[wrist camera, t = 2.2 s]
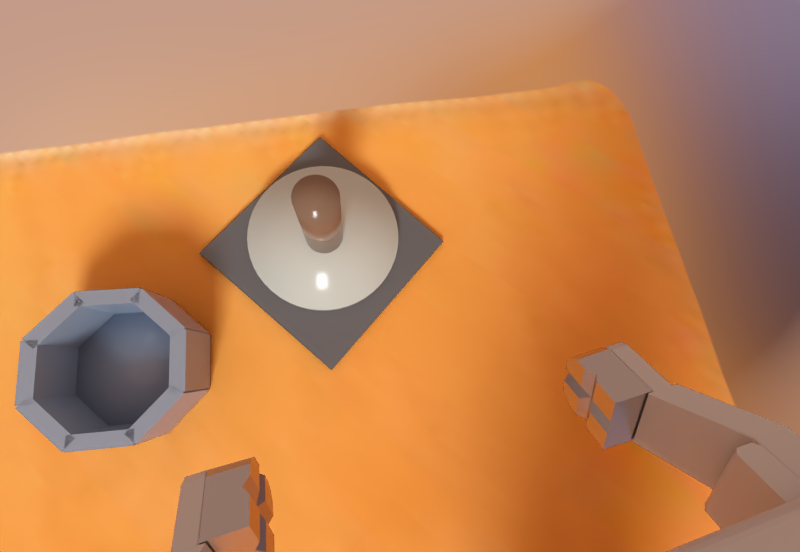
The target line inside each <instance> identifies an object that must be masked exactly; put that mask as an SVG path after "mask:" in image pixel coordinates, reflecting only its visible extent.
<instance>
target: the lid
mask: <svg viewBox="0 0 800 552" xmlns="http://www.w3.org/2000/svg"><path fill="white" fill-rule="evenodd" d="M247 244H248V251H249V256H250V259H251V262H252V264H253V267H254V269H255V271H256V272H257V274H258V276H259V277H260V279H261V280H262V281H263V283H264V284H265V285H266V286H267V287H268V288H269V289H270V290H271V291H272V292H273V293H275V294H276V295H277V296H279V297H280V298H281V299H283V300H285V301H286V302H288V303H290V304H292V305H295V306H297V307H300V308H304V309H308V310H315V311H332V310H339V309H343V308H346V307H349V306H352V305H354V304H357V303H359V302H360V301H362V300H364V299H366V298H367V297H368V296H370V295H371V294H372V293H373V292H374V291H375V290H376V289H377V288H378V287H380V285H381V284H382V283H383V281H384V280H385V279H386V277H387V276H388V274H389V272H390V270H391V268H392V265H393V263H394V260H395V257H396V253H397V249H398V227H397V221H396V218H395V215H394V212H393V210H392V208H391V205H390V204H389V202H388V201H387V199H386V197H385V196H384V195H383V194H382V192H381V191H380V190H379V189H378V188H377V187H376V186H375V185H374V184H372V183H371V182H370V181H368V180H367V179H366V178H364V177H362V176H360V175H359V174H356V173H354V172H352V171H349V170H346V169H342V168H337V167H331V166H316V167H309V168H304V169H300V170H297V171H294V172H292V173H290V174H288V175H286V176H284V177H282V178H281V179H279V180H278V181H276V182H275V183H274V184H273V185H271V186H270V187H269V188H268V189H267V190H266V191H265V192H264V194H263V195H262V196H261V198H260V199H259V200H258V202H257V204H256V205H255V207H254V209H253V211H252V214H251V217H250V220H249V225H248V232H247Z"/></svg>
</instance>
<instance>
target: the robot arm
mask: <svg viewBox="0 0 800 552" xmlns="http://www.w3.org/2000/svg"><path fill="white" fill-rule="evenodd" d="M566 369H567V370H568V371H569V375H568V376H567V377H566V378H565V380H564V387H563V389H564V393H565V397H566V400H567V402H568V404H569V405H570V407H571V408H572V410H573V411H574V412H575V414H577V415H579V416H581V417H583V418H585V419H586V428H587V429H588V431H589V432H590V433H591V435H592V436H593V437H594V438H595V440H596V441H597V442H598V444H599V445H600V446H601V447H602V449H606V448H609V447H612V446H615V445H618V444H622V443H625V442H628V441H631V440H633V442H634V443H636V444H638V445H639V446H641V447H643V448H644V449H646V450H648V451H649V452H651V453H653V454H654V455H656V456H658V457H659V458H661V459H663V460H664V461H666V462H668V463H670V464H671V465H673V466H675V467H676V468H678V469H680V470H681V471H683V472H685V473H686V474H688V475H690V476H691V477H693V478H695V479H696V480H698V481H700V482H702V483H703V484H705V485H707V486H708V487H710V488H712V489H713V490H712V492H711V494H710V496H709V497H708V499H707V501H706V503H705V511H706V512H707V513H708V514H709V516H710V517H711V518H712V519H713V520H714V521H715V523H716V524H717V525H718V526H719V527H720V528H721V529H720V530H718V531H715V532H713V533H710V534H708V535H705V536H703V537H700V538H698V539H696V540H693V541H691V542H688V543H686V544H683V545H681V546H678V547H676V548H674V549H671V550H669V551H666V552H800V436H799V435H798V434H797V433H795V432H794V431H793V430H792V429H790V428H789V427H787V426H784V425H782V424H779V423H777V422H774V421H771V420H769V419H766V418H764V417H761V416H759V415H756V414H753V413H751V412H748V411H745V410H743V409H740V408H738V407H735V406H733V405H730V404H727V403H725V402H722V401H720V400H717V399H715V398H712V397H709V396H707V395H704V394H702V393H699V392H696V391H694V390H691V389H689V388H686V387H684V386H681V385H678V384H675V385H671V384H670V383H669V382H668V381H667V380H665V379H664V378H663V377H662V376H661V375H660V374H659V373H658V372H657V371H656V370H655V369H654V368H652V367H651V366H650V365H649V364H648V363H647V362H646V361H645V360H644V359H643V358H642V357H641V356H639V355H638V354H637V353H636V352H635V351H634V350H633V349H632V348H631V347H630V346H629V345H627V344H625V343H623V342H620V343H616V344H613V345H610V346H607V347H604V348H599V349H596V350H593V351H590V352H587V353H584V354H581V355H578V356H575V357H572V358H570V359H569V360H568V361H567V366H566ZM272 517H273V501H272V495H271V490H270V486H269V483H268V481H267V479H266V477H265V475H262V474H259V464H258V462H257V460H256V459H255V457H252V458H248V459H245V460H241V461H238V462H234V463H231V464H228V465H224V466H221V467H217V468H214V469H210V470H206V471H203V472H200V473H197V474H193V475H190V476H187V477H185V478H184V481H183V483H182V485H181V490H180V497H179V503H178V509H177V516H176V522H175V529H174V535H173V542H172V548H171V552H275V551H274V534H273V532H272V530H271V529H270V527H269V525H268V524H269V522H270V521H271V519H272Z"/></svg>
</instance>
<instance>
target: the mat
mask: <svg viewBox="0 0 800 552" xmlns="http://www.w3.org/2000/svg"><path fill="white" fill-rule="evenodd" d="M316 166H331V167H337V168H342V169H346V170H349V171H352V172H354V173H356V174H359V175H360V176H362V177H364V178H366V179H367V180H368V181H370V182H371V183H372V184H374V185H375V186H376V187H377V188H378V189H379V190H380V191H381V192H382V194H383V195H384V196H385V197H386V199H387V201H388V202H389V204H390V205H391V208H392V210H393V212H394V215H395V218H396V221H397V227H398V249H397V253H396V257H395V260H394V263H393V265H392V268H391V270H390V272H389V274H388V276H387V277H386V279H385V280H384V281H383V283H382V284H381V285H380V287H378V288H377V289H376V290H375V291H374V292H373V293H372V294H371V295H370V296H368V297H367V298H366V299H364V300H362V301H360V302H359V303H357V304H354V305H352V306H349V307H346V308H343V309H339V310H332V311H315V310H308V309H304V308H300V307H297V306H295V305H292V304H290V303H288V302H286V301H285V300H283V299H281V298H280V297H279V296H277V295H276V294H275V293H273V292H272V291H271V290H270V289H269V288H268V287H267V286H266V285H265V284H264V283H263V281H262V280H261V279H260V277H259V276H258V274H257V272H256V271H255V269H254V267H253V264H252V262H251V259H250V256H249V251H248V244H247V232H248V225H249V220H250V217H251V214H252V211H253V209H254V207H255V205H256V204H257V202H258V200H259V199H260V198H261V196H262V195H263V194H264V192H265V191H266V190H267V189H268V188H269V187H270V186H271V185H273V184H274V183H275V182H276V181H278V180H279V179H281V178H282V177H284V176H286V175H288V174H290V173H292V172H294V171H297V170H300V169H304V168H309V167H316ZM271 185H270V186H269V187H268V188H267V189H266V190H265V191H264V192H263V193H262V194H261V195H260V196H259V197H257V198H256V199H255V200H254V201H253V202H252V203H251V204H250V205H249V206H248V207H247V208H246V209H245V210H244V211H243V212H242V213H241V214H240V215H239V216H238V217H237V218H236V219H235V220H234V221H233V222H231V223H230V224H229V225H228V226H227V227H226V228H225V229H224V230H223V231H222V232H221V233H220V234H219V235H218V236H217V237H216V238H215V239H214V240H213V241H212V242H211V243H210V244H209V245H208V246H207V247H206V248H204V249H203V250H202V251H201V252H200V254H201V255H202V256H203V257H204V258H205V259H206V260H208V261H209V262H210V263H211V264H212V265H213V266H214V267H216V268H217V269H218V270H219V271H220V272H221V273H222V274H223V275H225V276H226V277H227V278H228V279H229V280H230V281H231V282H233V283H234V284H235V285H236V286H237V287H238V288H239V289H240V290H242V291H243V292H244V293H245V294H246V295H247V296H248V297H250V298H251V299H252V300H253V301H254V302H255V303H256V304H257V305H259V306H260V307H261V308H262V309H263V310H264V311H265V312H267V313H268V314H269V315H270V316H271V317H272V318H273V319H274V320H276V321H277V322H278V323H279V324H280V325H281V326H282V327H284V328H285V329H286V330H287V331H288V332H289V333H290V334H291V335H293V336H294V337H295V338H296V339H297V340H298V341H299V342H301V343H302V344H303V345H304V346H305V347H306V348H307V349H308V350H310V351H311V352H312V353H313V354H314V355H315V356H316V357H318V358H319V359H320V360H321V361H322V362H323V363H324V364H325V365H327V366H328V367H329V368H330V369H331V370H332V369H333V368H334V367H335V365H336V364H337V363H338V362H339V361H340V360H341V358H342V357H343V356H344V355H345V354H346V353H347V352H348V350H349V349H350V348H351V347H352V346H353V345H354V344H355V342H356V341H357V340H358V339H359V338H360V337H361V335H362V334H363V333H364V332H365V331H366V330H367V329H368V327H369V326H370V325H371V324H372V323H373V322H374V320H375V319H376V318H377V317H378V316H379V315H380V314H381V312H382V311H383V310H384V309H385V308H386V307H387V306H388V304H389V303H390V302H391V301H392V300H393V299H394V297H395V296H396V295H397V294H398V293H399V292H400V291H401V289H402V288H403V287H404V286H405V285H406V284H407V283H408V281H409V280H410V279H411V278H412V277H413V276H414V274H415V273H416V272H417V271H418V270H419V269H420V268H421V266H422V265H423V264H424V263H425V262H426V261H427V260H428V258H429V257H430V256H431V255H432V254H433V253H434V251H435V250H436V249H437V248H438V247H439V246H440V245H441V243H442V242H443V241H442V240H441V239H440V238H439V237H438V236H436V235H435V234H434V233H433V232H432V231H431V230H429V229H428V228H427V227H426V226H425V225H423V224H422V223H421V222H420V221H419V220H418V219H416V218H415V217H414V216H413V215H412V214H410V213H409V212H408V211H407V210H406V209H404V208H403V207H402V206H401V205H400V204H399V203H397V202H396V201H395V200H394V199H393V198H391V197H390V196H389V195H388V194H387V193H386V192H384V191H383V190H382V189H381V188H380V187H378V186H377V185H376V184H375V183H374V182H373V181H371V180H370V179H369V178H368V177H367V176H365V175H364V174H363V173H362V172H361V171H359V170H358V169H357V168H356V167H355V166H354V165H352V164H351V163H350V162H349V161H348V160H346V159H345V158H344V157H343V156H342V155H341V154H339V153H338V152H337V151H336V150H335V149H333V148H332V147H331V146H330V145H329V144H328V143H326V142H325V141H324V140H323V139H322V138H319V139H318V140H317V141H316V142H315V143H314V144H313V145H311V146H310V147H309V148H308V149H307V150H306V151H305V152H304V153H303V154H302V155H301V156H300V157H299V158H298V159H297V160H296V161H295V162H294V163H293V164H292V165H291V166H290V167H289V168H288V169H287V170H286V171H284V172H283V173H282V174H281V175H280V176H279V177H278V178H277V179H276V180H275V181H274V182H273V183H272V184H271Z"/></svg>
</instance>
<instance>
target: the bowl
mask: <svg viewBox="0 0 800 552" xmlns="http://www.w3.org/2000/svg"><path fill="white" fill-rule="evenodd" d="M209 334H210V333H209V332H208V331H207V330H206V329H205V328H203V327H202V326H201V325H200V324H199V323H198V322H197V321H196V320H194V319H193V318H192V317H191V316H190V315H189V314H188V313H187V312H186V311H184V310H183V309H182V308H181V307H180V306H179V305H178V304H177V303H175V302H174V301H173V300H172V299H169V298H166V297H164V296H161V295H158V294H156V293H153V292H150V291H147V290H145V289H142V288H127V289H109V290H92V291H75V293H72V294H71V295H69V296H68V297H67V298H66V299H65V300H64V301H63V302H62V303H61V304H60V305H58V306H57V307H56V308H55V309H54V310H53V311H52V312H51V313H50V314H49V315H48V316H46V317H45V318H44V319H43V320H42V321H41V322H40V323H39V324H38V325H37V326H35V327H34V328H33V329H32V330H31V331H30V332H29V333H28V334H27V335H26V336H24V337H23V338H22V340H23V341H21V343H20V354H19V364H18V375H17V386H16V397H15V406H17V407H16V409H17V410H18V411H19V412H20V413H21V414H22V415H23V416H24V417H25V418H26V419H27V420H28V421H29V422H31V423H32V424H33V425H34V426H35V427H36V428H37V429H38V430H39V431H40V432H41V433H42V434H43V435H44V436H45V437H46V438H48V439H49V440H50V441H51V442H52V443H53V444H54V445H55V446H56V447H57V448H58V449H59V450H60V451H61V452H63V451H64V452H74V451H84V450H94V449H104V448H114V447H124V446H134V445H136V444H139V443H142V442H145V441H148V440H150V439H153V438H156V437H159V436H162V435H164V434H167V433H169V432H170V431H171V430H172V429H173V428H174V427H175V426H176V425H177V424H178V423H179V422H180V420H181V419H182V418H183V417H184V416H185V415H186V414H187V413H188V412H189V411H190V410H191V409H192V408H193V407H194V406H195V404H196V403H197V402H198V401H199V400H200V399H201V398H202V397H203V396H204V395H205V394H206V393H207V392H208V391H209V390H210V389H208V388H210V345H211V335H209Z"/></svg>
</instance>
